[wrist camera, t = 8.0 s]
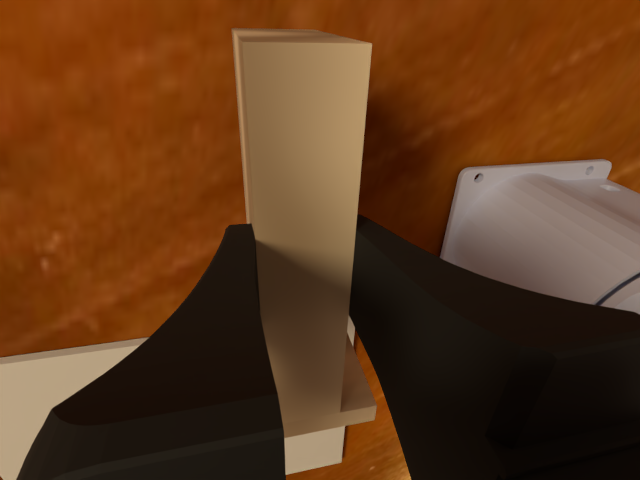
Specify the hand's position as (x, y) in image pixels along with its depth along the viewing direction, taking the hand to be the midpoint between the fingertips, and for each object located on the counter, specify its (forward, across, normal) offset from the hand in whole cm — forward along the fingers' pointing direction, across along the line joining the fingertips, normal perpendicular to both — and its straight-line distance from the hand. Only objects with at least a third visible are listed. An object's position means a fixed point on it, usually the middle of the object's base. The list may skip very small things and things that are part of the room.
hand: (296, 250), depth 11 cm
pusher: (+4, 0, 0) cm, 4 cm away
